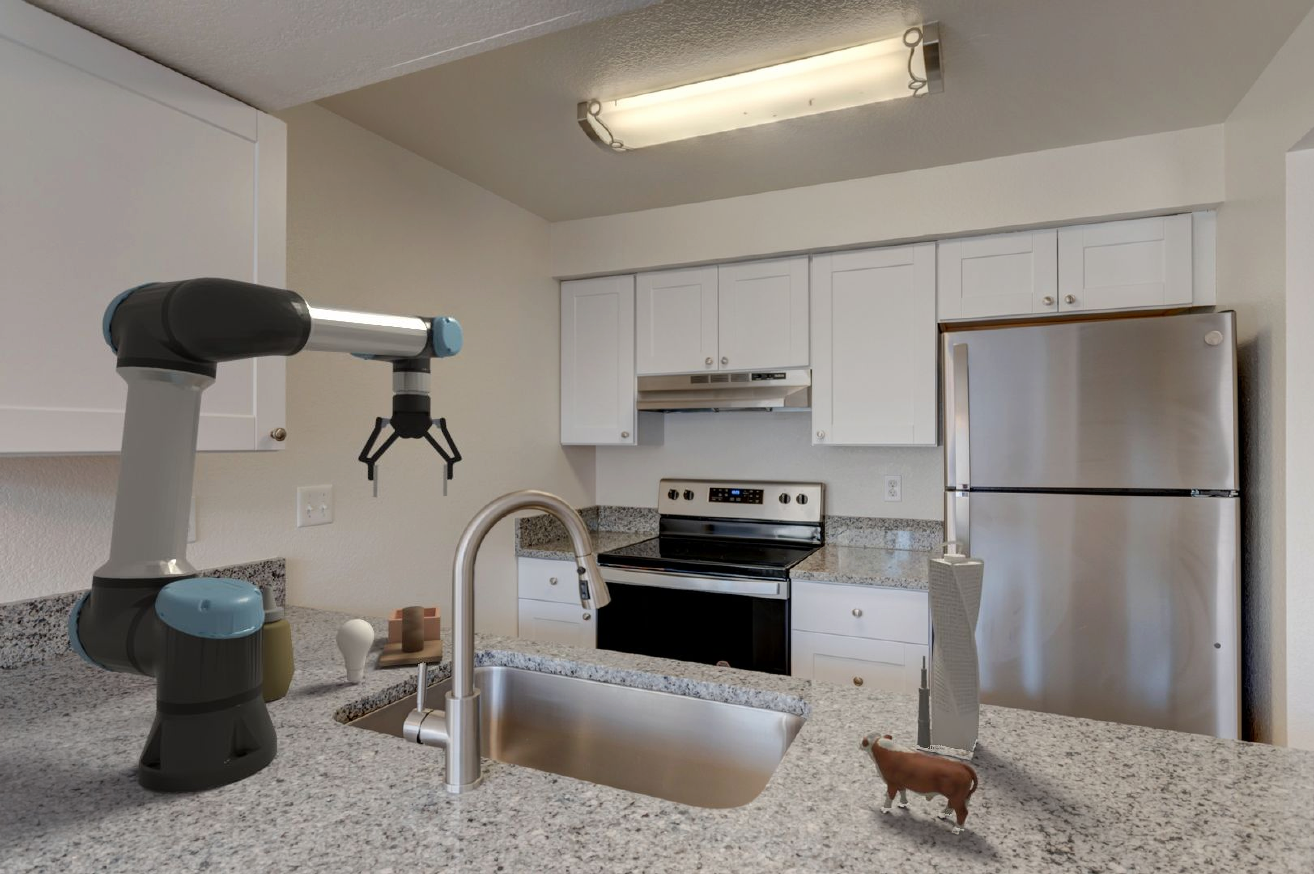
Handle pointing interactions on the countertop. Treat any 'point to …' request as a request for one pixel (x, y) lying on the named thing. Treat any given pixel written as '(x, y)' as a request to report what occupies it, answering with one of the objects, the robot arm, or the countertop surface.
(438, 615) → the pink open box
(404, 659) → the lid
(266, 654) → the squeeze bottle
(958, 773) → the bull figurine
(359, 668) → the lightbulb
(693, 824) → the countertop surface
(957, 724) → the skyscraper
